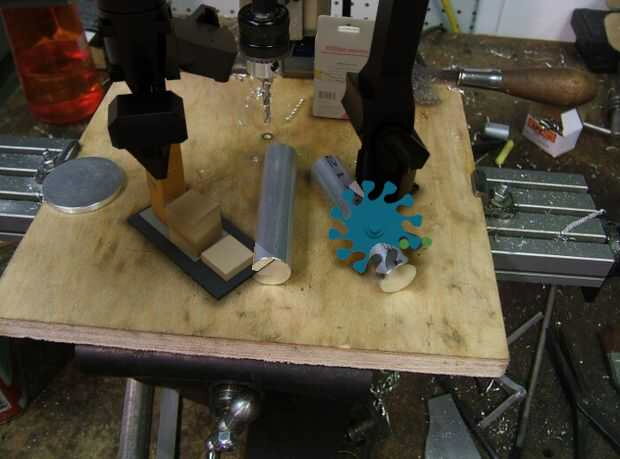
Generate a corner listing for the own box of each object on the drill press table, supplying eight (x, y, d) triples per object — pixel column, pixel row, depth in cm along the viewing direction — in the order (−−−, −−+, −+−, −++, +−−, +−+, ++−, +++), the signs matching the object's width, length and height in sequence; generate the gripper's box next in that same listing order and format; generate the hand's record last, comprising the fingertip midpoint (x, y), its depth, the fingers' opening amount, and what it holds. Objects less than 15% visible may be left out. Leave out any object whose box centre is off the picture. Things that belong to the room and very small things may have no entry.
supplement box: (193, 214, 64) (182, 142, 57) (167, 227, 62) (152, 156, 55) (177, 199, 66) (164, 128, 59) (151, 212, 64) (135, 140, 57)
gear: (312, 254, 59) (347, 165, 58) (318, 252, 65) (350, 171, 64) (412, 294, 57) (448, 203, 57) (409, 288, 63) (441, 205, 63)
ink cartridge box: (372, 103, 83) (386, 5, 72) (371, 122, 79) (384, 22, 69) (315, 98, 83) (320, -1, 73) (311, 116, 80) (315, 15, 69)
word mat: (275, 259, 60) (275, 249, 59) (217, 300, 56) (216, 290, 55) (184, 188, 68) (182, 178, 67) (127, 220, 64) (124, 210, 62)
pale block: (223, 236, 62) (219, 203, 58) (198, 258, 59) (192, 224, 56) (196, 221, 63) (191, 188, 60) (170, 241, 61) (164, 208, 57)
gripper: (243, 45, 42) (251, 200, 53) (215, -46, 54) (226, 95, 66) (87, 56, 40) (129, 215, 51) (96, -40, 52) (128, 104, 63)
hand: (159, 150), depth 58 cm, fingers open, 9 cm apart
